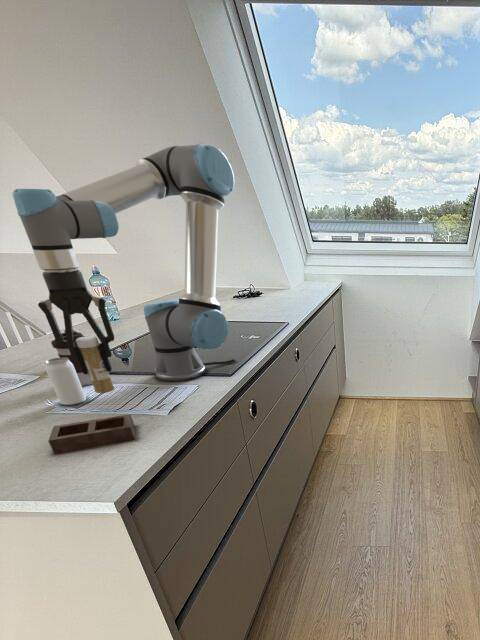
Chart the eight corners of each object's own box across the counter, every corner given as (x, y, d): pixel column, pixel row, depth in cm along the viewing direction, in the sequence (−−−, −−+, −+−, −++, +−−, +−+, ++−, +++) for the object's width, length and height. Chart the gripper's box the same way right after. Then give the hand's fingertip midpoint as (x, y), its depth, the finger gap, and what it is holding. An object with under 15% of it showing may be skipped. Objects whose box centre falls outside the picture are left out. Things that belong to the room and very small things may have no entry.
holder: (134, 426, 116) (130, 413, 115) (135, 440, 110) (130, 427, 108) (59, 439, 110) (53, 425, 108) (54, 454, 103) (48, 440, 101)
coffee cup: (61, 385, 143) (40, 336, 135) (90, 375, 151) (72, 329, 143) (83, 389, 140) (63, 339, 132) (111, 379, 148) (94, 332, 140)
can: (74, 406, 128) (57, 364, 121) (55, 404, 129) (36, 363, 122) (92, 398, 133) (76, 357, 127) (73, 396, 134) (56, 356, 128)
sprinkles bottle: (112, 393, 116) (92, 339, 109) (92, 394, 115) (71, 340, 108) (117, 387, 120) (99, 335, 113) (98, 388, 119) (78, 336, 112)
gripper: (106, 266, 109) (136, 363, 121) (17, 270, 102) (59, 372, 114) (104, 270, 103) (136, 370, 116) (10, 274, 96) (55, 380, 109)
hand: (98, 371), depth 115 cm, fingers closed on sprinkles bottle, 5 cm apart
